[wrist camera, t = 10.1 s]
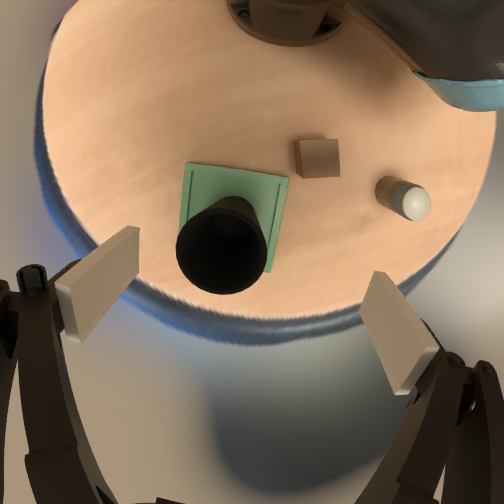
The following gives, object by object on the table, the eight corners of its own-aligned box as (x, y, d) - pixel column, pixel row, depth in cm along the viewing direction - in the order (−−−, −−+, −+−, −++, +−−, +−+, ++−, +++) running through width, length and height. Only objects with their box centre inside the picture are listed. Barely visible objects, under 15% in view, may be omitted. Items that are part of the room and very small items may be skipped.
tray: (188, 162, 33) (185, 163, 31) (287, 176, 33) (288, 178, 31) (180, 253, 37) (177, 258, 35) (270, 267, 37) (270, 272, 36)
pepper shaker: (379, 173, 32) (407, 181, 25) (404, 180, 32) (435, 191, 25) (372, 202, 34) (398, 218, 26) (397, 209, 34) (427, 226, 27)
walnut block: (294, 141, 31) (299, 140, 27) (326, 139, 31) (337, 139, 27) (296, 173, 33) (303, 178, 28) (329, 172, 33) (340, 176, 28)
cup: (234, 259, 36) (224, 310, 25) (189, 219, 35) (158, 255, 23) (277, 217, 34) (287, 253, 23) (231, 173, 32) (217, 188, 21)
